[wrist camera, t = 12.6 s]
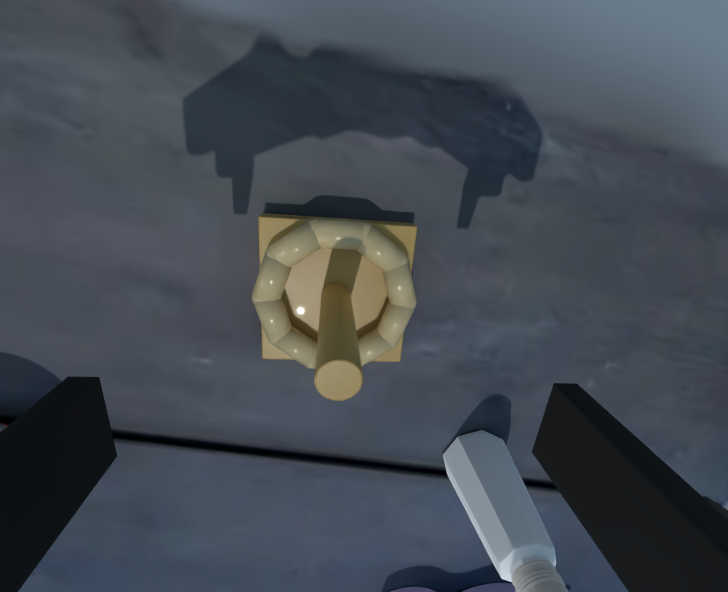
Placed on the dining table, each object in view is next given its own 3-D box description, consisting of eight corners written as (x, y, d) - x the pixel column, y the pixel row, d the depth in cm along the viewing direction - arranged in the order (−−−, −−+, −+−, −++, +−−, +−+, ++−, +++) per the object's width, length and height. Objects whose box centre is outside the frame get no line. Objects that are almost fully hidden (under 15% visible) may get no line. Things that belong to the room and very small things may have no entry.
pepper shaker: (462, 490, 30) (532, 660, 19) (428, 453, 28) (485, 618, 18) (516, 457, 29) (619, 616, 19) (485, 417, 27) (579, 568, 17)
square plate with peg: (263, 212, 20) (199, 254, 11) (412, 222, 21) (479, 268, 12) (266, 347, 23) (219, 476, 14) (396, 351, 24) (440, 473, 15)
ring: (252, 211, 19) (245, 215, 17) (423, 223, 20) (430, 227, 18) (257, 359, 22) (251, 373, 21) (404, 362, 23) (409, 375, 22)
